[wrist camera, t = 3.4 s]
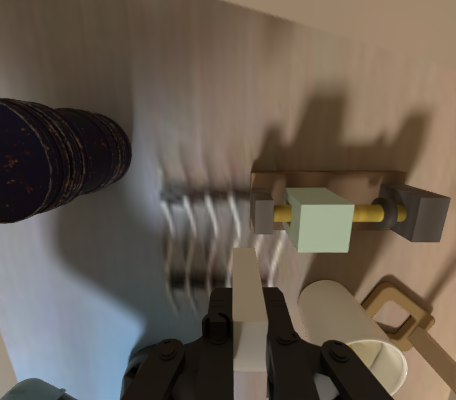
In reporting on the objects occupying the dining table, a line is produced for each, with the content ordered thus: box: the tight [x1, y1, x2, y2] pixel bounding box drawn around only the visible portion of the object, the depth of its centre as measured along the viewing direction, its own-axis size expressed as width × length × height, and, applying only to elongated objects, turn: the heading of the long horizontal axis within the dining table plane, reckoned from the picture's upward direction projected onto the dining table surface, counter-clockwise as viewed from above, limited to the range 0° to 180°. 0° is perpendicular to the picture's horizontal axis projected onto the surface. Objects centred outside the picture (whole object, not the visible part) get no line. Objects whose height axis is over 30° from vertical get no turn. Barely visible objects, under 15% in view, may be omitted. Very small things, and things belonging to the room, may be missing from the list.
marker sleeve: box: [283, 188, 355, 253], centre depth 27 cm, size 5×5×7 cm
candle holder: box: [298, 280, 408, 396], centre depth 32 cm, size 10×10×12 cm
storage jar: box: [0, 98, 132, 224], centre depth 25 cm, size 10×10×15 cm
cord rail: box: [250, 171, 451, 242], centre depth 29 cm, size 20×8×8 cm, turn 90°
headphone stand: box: [361, 282, 456, 394], centre depth 28 cm, size 10×11×22 cm
